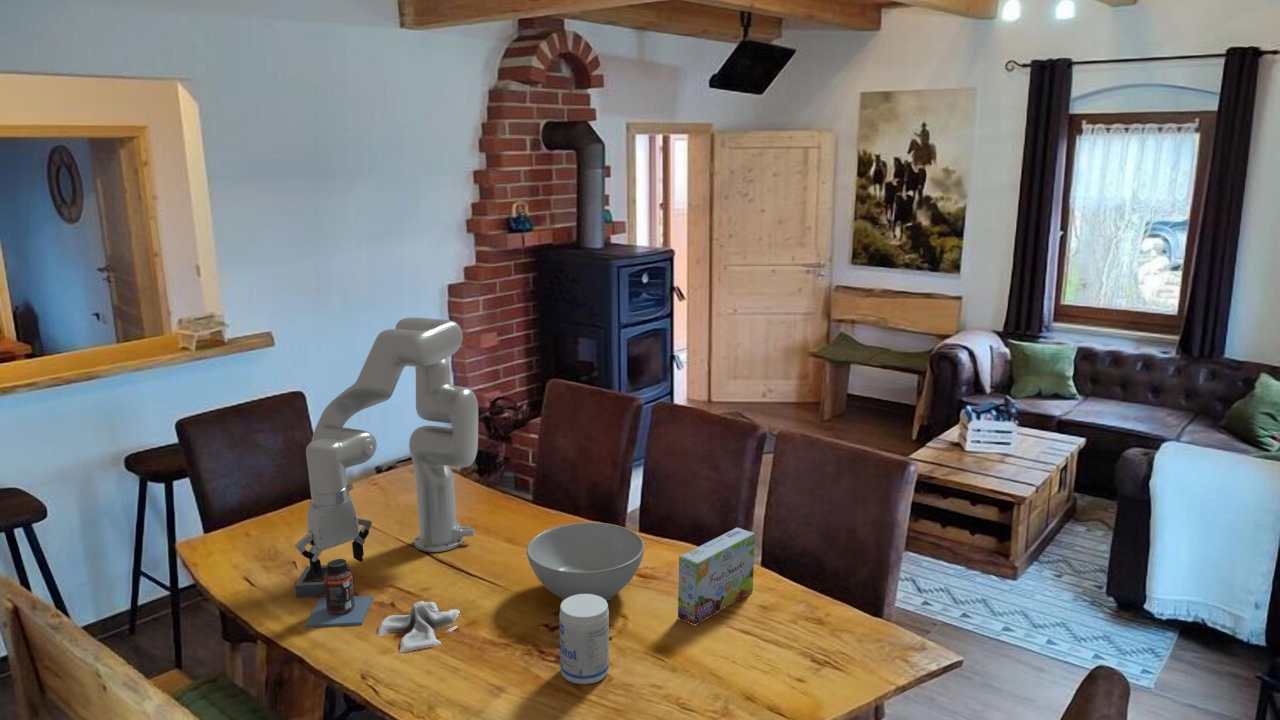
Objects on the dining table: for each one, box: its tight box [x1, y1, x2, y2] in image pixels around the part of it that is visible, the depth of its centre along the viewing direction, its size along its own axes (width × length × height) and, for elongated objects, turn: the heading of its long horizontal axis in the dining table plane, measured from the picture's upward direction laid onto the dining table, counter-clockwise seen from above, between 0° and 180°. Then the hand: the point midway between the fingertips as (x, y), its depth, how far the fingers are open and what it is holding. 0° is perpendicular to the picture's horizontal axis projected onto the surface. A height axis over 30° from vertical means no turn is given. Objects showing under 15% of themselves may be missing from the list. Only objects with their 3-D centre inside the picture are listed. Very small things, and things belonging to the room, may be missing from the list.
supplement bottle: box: [323, 558, 355, 614], centre depth 202 cm, size 6×6×11 cm
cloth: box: [377, 600, 460, 654], centre depth 197 cm, size 22×19×6 cm
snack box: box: [677, 527, 756, 626], centre depth 202 cm, size 21×6×15 cm, turn 137°
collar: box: [294, 563, 351, 599], centre depth 214 cm, size 10×10×3 cm
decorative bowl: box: [526, 521, 645, 602], centre depth 208 cm, size 27×27×12 cm
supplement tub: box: [559, 594, 610, 685], centre depth 177 cm, size 10×10×15 cm
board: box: [304, 595, 374, 628], centre depth 203 cm, size 12×12×1 cm
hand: (338, 567), depth 201 cm, fingers open, 9 cm apart
